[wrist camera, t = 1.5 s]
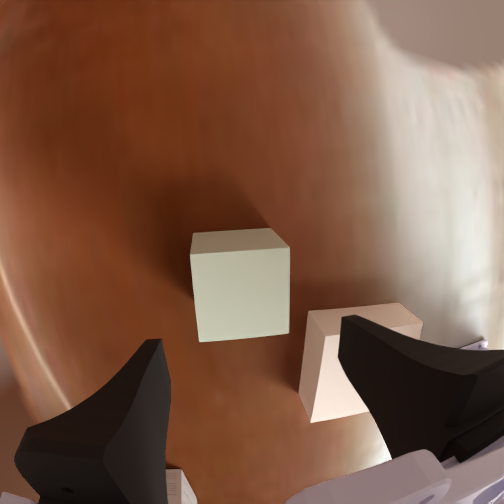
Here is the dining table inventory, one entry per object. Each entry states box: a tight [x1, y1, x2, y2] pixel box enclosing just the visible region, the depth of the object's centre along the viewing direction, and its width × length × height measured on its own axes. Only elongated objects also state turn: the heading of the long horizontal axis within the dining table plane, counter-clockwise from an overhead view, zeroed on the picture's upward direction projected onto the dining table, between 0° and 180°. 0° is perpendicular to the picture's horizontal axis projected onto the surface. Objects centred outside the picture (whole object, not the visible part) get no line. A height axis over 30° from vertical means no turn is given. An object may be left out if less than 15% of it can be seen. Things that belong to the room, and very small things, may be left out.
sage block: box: [190, 228, 290, 342], centre depth 19 cm, size 5×5×5 cm
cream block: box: [298, 303, 423, 423], centre depth 23 cm, size 8×8×4 cm
